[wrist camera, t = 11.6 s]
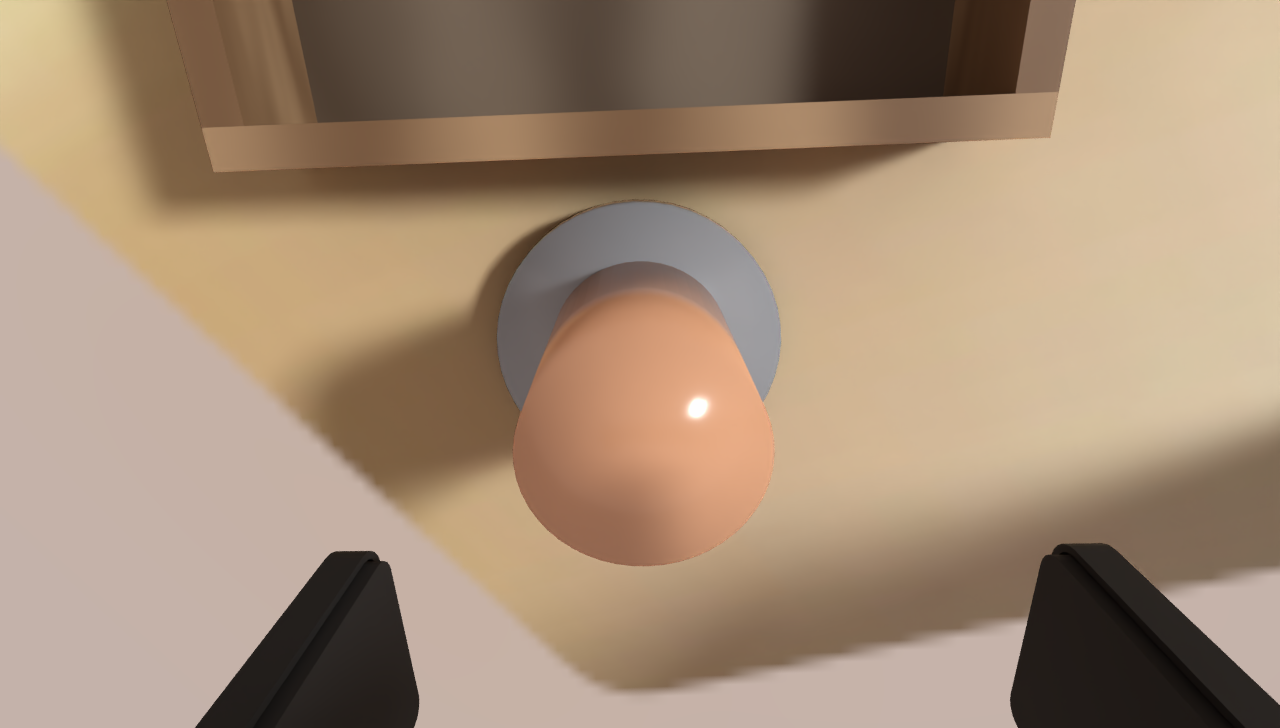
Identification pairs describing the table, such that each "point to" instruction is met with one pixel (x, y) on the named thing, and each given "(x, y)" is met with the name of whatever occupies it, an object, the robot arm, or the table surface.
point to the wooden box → (609, 76)
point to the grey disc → (631, 238)
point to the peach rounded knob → (642, 422)
